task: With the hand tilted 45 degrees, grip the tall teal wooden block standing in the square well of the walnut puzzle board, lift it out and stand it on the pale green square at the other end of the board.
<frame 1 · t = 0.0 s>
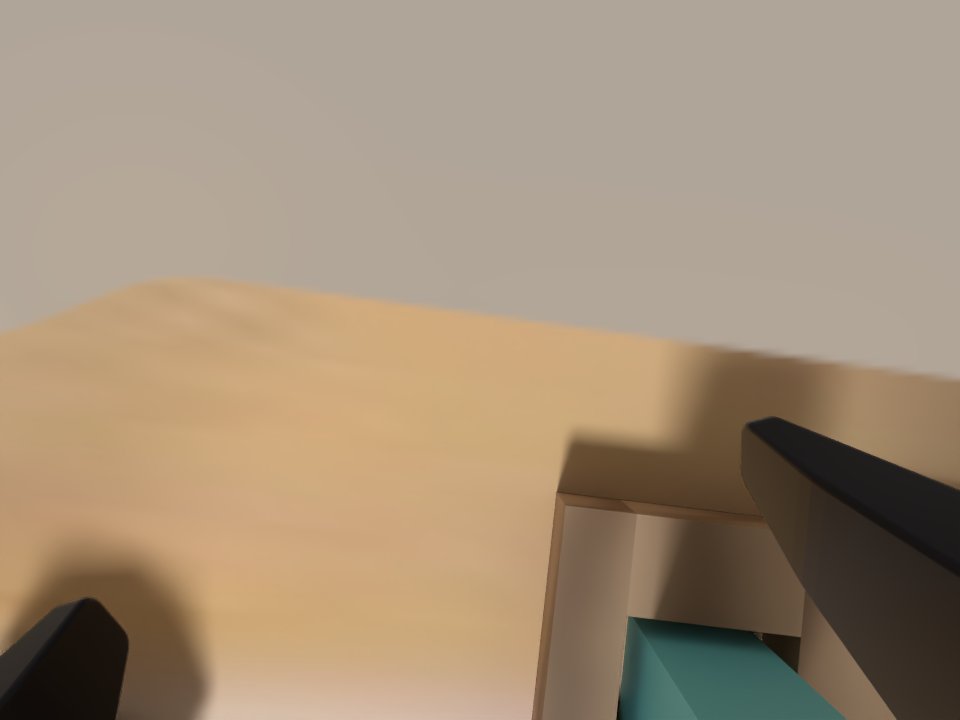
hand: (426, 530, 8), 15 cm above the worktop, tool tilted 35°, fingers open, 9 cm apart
puzzle board: (823, 696, 22), on the worktop
teal block: (681, 677, 22), resting in puzzle board
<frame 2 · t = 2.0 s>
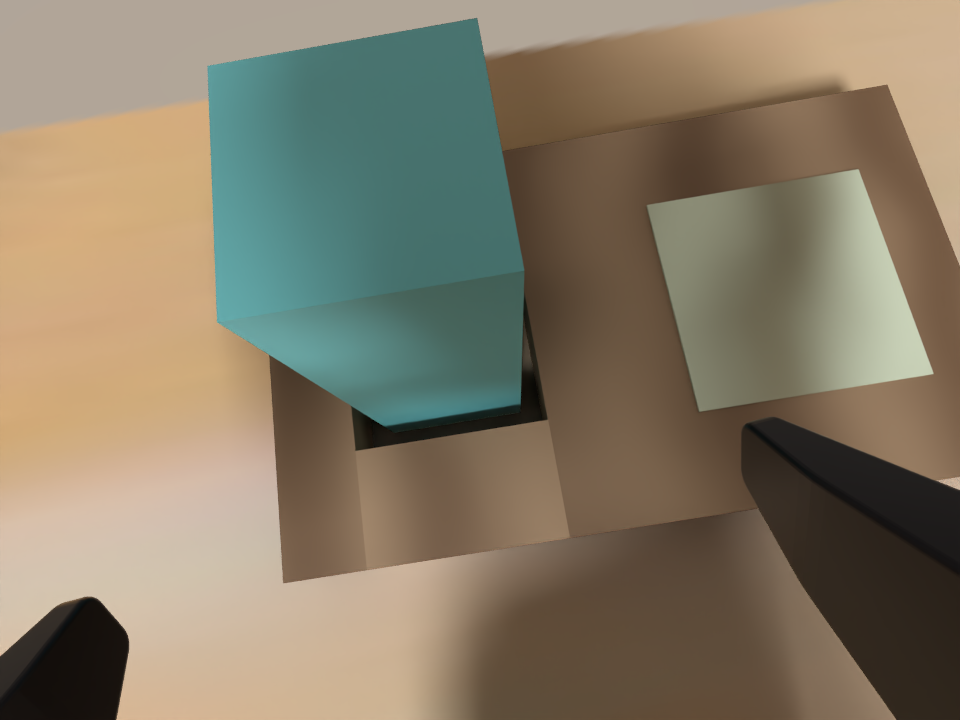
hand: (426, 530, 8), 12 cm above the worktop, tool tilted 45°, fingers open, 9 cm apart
puzzle board: (598, 337, 21), on the worktop
teal block: (448, 361, 21), resting in puzzle board
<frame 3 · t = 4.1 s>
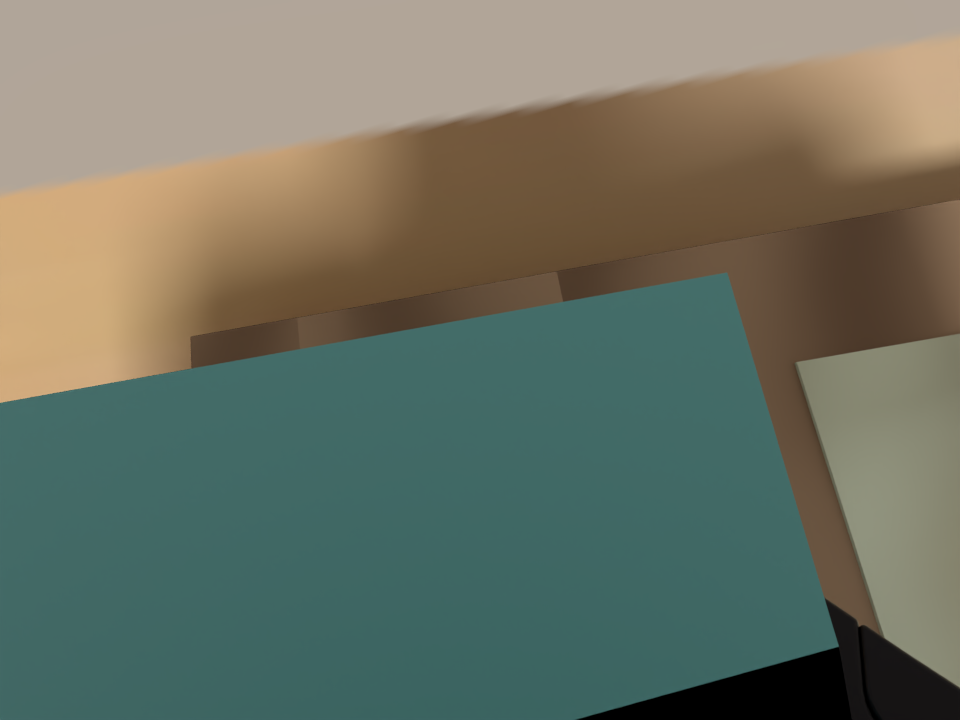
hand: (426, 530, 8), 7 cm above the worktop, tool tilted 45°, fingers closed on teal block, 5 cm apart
puzzle board: (707, 543, 14), on the worktop
teal block: (481, 580, 14), resting in puzzle board, touching gripper
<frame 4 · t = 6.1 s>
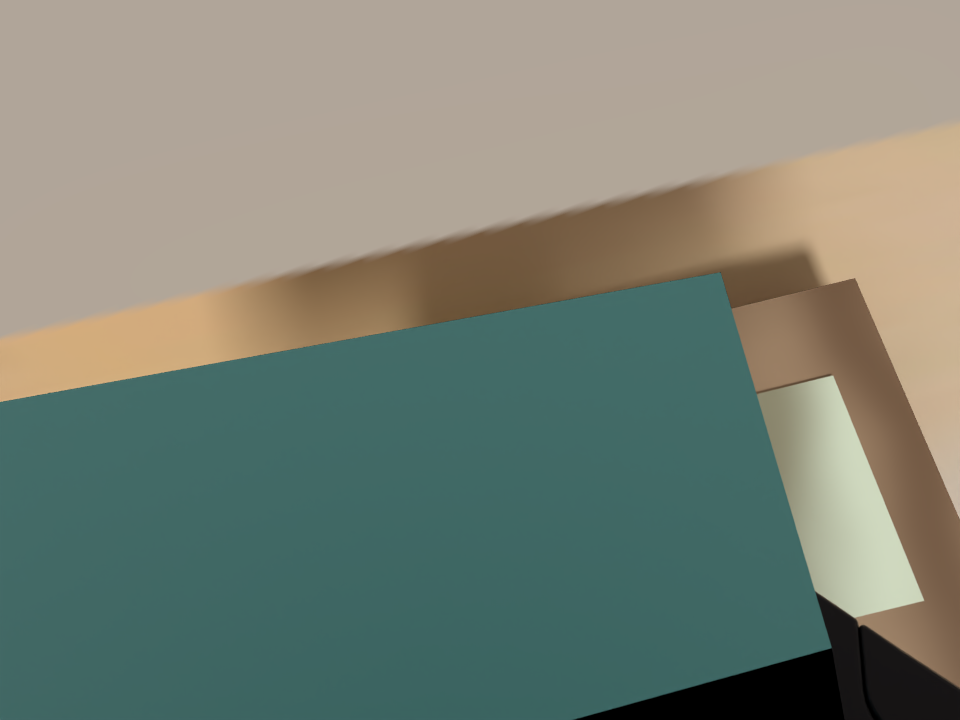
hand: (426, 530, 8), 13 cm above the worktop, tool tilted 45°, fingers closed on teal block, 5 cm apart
puzzle board: (584, 546, 20), on the worktop
teal block: (480, 580, 14), point 7 cm above the worktop, touching gripper
when the fingers open (10 cm above the worktop, at t = 7.9 s): teal block stays where it is, resting on puzzle board.
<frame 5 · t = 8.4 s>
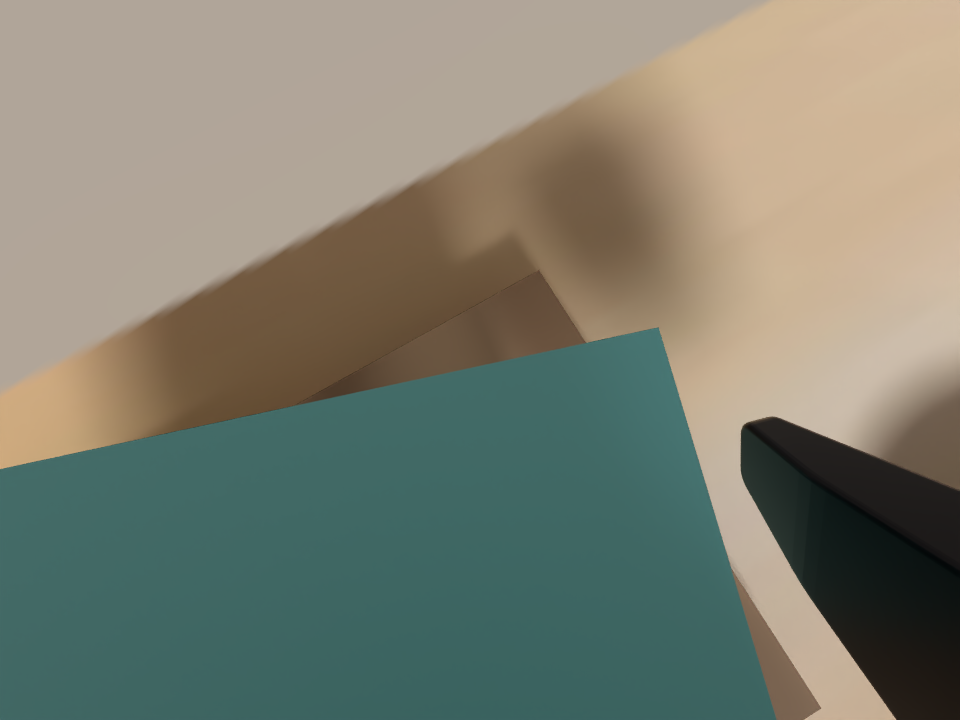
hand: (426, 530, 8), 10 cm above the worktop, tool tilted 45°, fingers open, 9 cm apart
puzzle board: (326, 660, 17), on the worktop
teal block: (482, 575, 15), point 3 cm above the worktop, touching puzzle board
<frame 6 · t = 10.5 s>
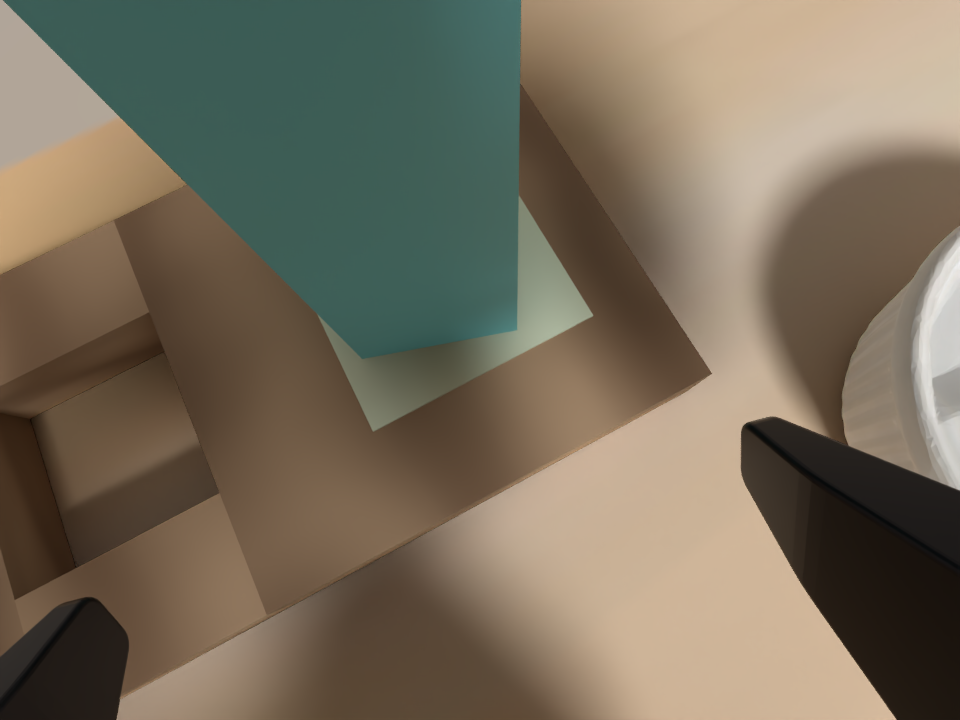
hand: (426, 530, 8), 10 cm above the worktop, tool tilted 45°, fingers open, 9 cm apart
puzzle board: (293, 377, 19), on the worktop
teal block: (427, 272, 17), point 3 cm above the worktop, touching puzzle board
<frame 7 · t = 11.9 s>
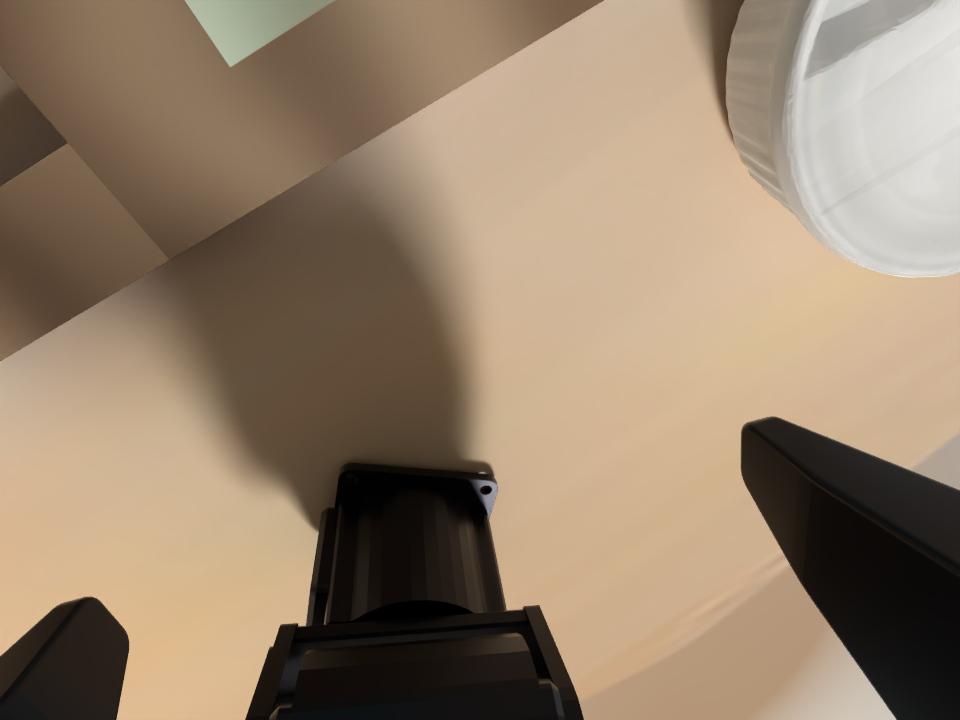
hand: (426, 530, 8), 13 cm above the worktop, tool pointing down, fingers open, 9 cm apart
ramekin: (856, 50, 18), on the worktop
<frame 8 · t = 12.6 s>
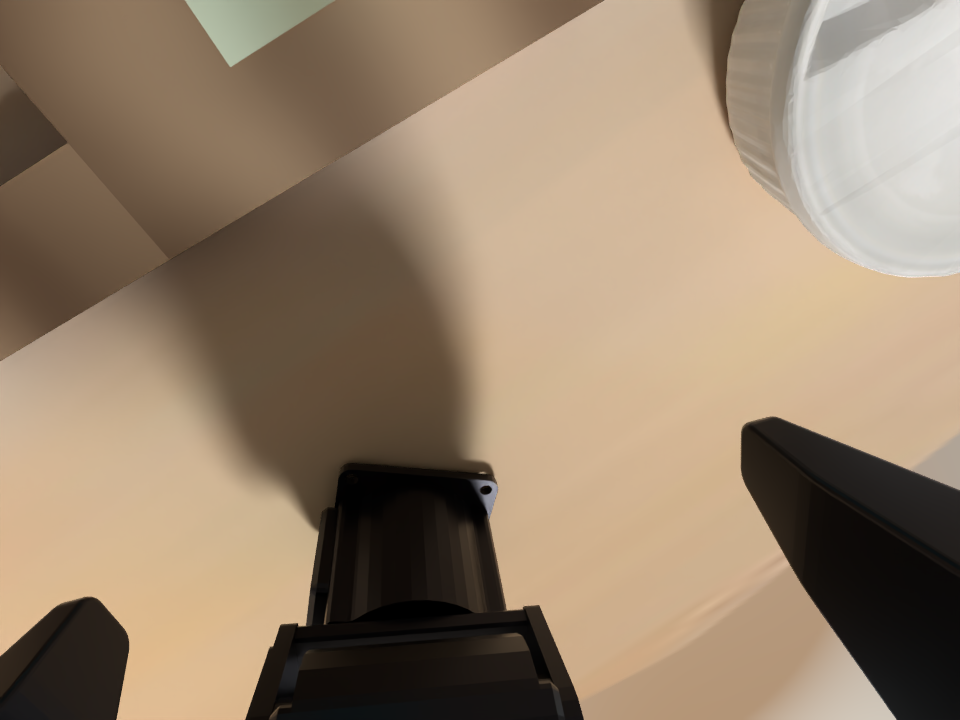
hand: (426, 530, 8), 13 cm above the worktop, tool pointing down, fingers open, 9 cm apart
ramekin: (857, 50, 18), on the worktop
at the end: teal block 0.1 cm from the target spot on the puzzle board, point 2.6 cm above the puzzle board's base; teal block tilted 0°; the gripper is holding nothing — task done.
